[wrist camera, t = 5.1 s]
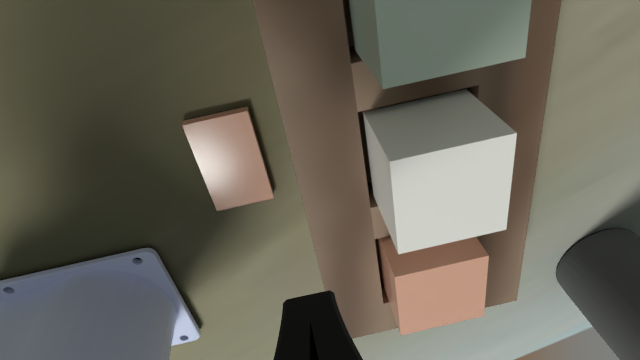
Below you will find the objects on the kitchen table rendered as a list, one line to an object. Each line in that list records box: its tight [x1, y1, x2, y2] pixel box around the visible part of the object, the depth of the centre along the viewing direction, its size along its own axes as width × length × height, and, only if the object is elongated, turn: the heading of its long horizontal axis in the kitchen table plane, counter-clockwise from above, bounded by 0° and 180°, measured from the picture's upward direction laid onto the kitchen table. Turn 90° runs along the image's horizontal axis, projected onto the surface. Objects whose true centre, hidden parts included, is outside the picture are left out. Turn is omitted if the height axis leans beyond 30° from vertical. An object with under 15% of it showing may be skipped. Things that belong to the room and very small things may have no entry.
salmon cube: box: [376, 236, 489, 335], centre depth 22 cm, size 4×4×4 cm
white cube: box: [363, 89, 517, 254], centre depth 17 cm, size 4×4×4 cm
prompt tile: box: [182, 106, 274, 211], centre depth 20 cm, size 3×5×1 cm, turn 11°
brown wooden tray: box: [252, 0, 561, 338], centre depth 19 cm, size 11×24×3 cm, turn 11°
